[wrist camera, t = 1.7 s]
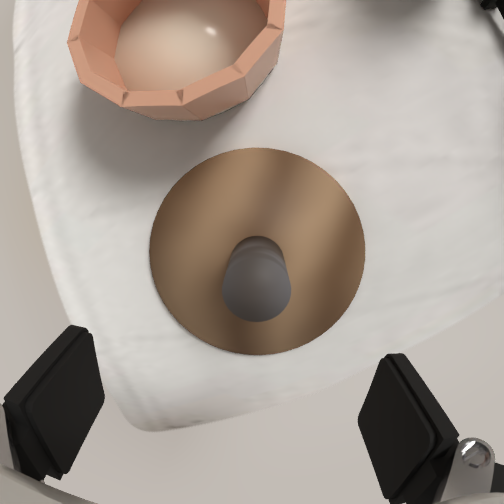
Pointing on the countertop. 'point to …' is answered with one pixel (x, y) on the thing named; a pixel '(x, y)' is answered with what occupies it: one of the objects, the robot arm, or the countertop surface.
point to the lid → (257, 251)
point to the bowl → (176, 53)
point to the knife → (494, 5)
